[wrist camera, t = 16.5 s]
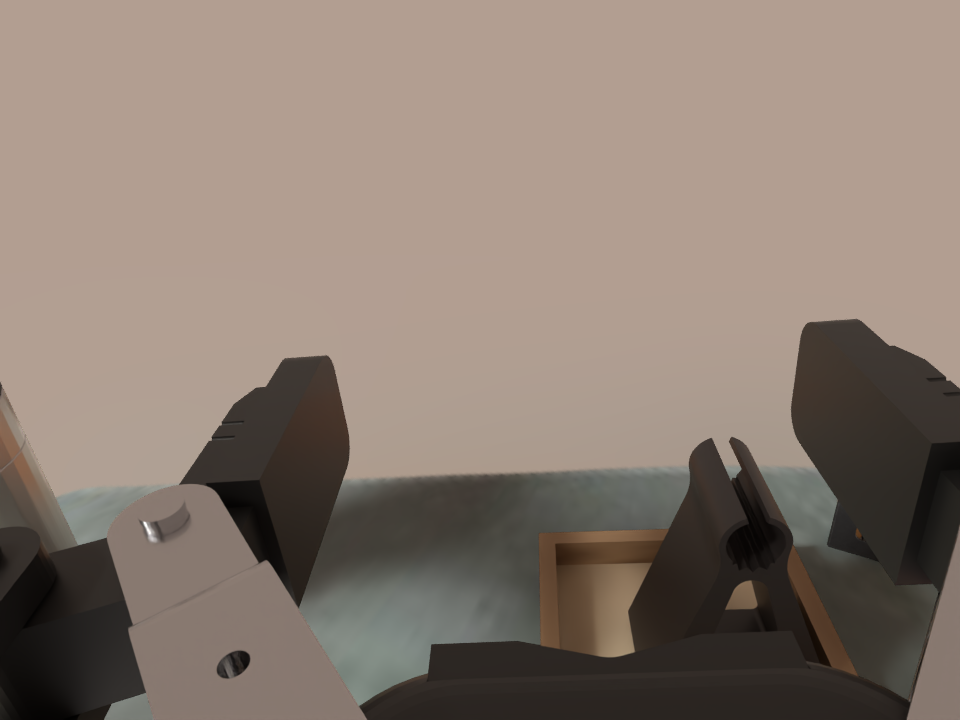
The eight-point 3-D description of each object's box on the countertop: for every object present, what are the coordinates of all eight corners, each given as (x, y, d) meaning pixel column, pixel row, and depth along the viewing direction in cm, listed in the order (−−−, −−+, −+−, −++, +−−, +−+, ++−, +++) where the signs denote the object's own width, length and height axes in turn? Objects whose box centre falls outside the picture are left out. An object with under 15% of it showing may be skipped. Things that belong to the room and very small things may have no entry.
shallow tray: (546, 806, 31) (542, 765, 30) (541, 568, 44) (538, 532, 43) (890, 809, 30) (903, 767, 28) (778, 562, 43) (783, 525, 42)
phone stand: (643, 711, 33) (646, 522, 28) (628, 615, 39) (627, 441, 33) (833, 711, 33) (874, 514, 27) (791, 612, 38) (818, 432, 32)
